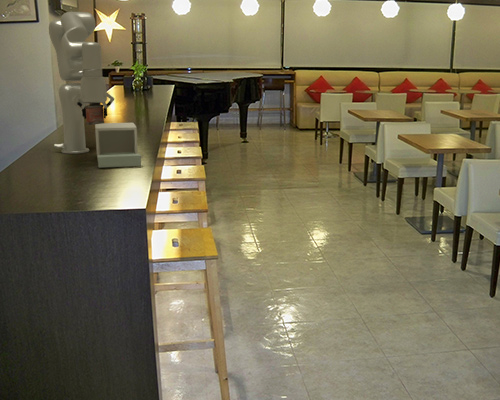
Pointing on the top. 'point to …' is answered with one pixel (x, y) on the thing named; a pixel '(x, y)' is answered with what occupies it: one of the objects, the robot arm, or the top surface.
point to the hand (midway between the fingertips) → (95, 117)
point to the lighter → (94, 114)
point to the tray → (119, 159)
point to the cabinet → (116, 138)
